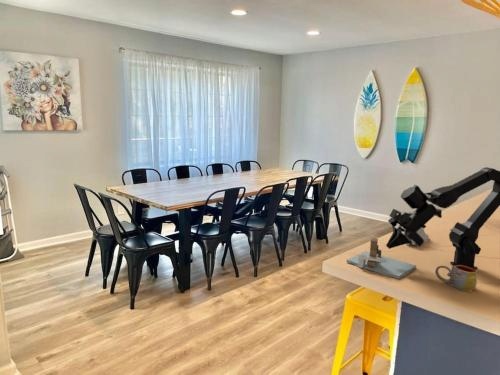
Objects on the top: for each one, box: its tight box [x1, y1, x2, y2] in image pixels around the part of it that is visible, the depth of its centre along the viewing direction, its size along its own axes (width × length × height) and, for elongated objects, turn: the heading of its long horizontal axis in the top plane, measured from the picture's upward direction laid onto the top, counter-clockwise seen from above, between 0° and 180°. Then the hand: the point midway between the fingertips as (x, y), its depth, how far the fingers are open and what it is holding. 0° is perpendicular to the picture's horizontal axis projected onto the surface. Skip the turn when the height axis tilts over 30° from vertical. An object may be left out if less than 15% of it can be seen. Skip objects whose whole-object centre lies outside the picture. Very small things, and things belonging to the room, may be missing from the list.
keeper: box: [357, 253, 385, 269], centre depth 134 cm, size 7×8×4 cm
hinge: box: [405, 228, 430, 249], centre depth 164 cm, size 17×5×10 cm, turn 141°
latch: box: [367, 237, 382, 267], centre depth 138 cm, size 14×4×8 cm, turn 154°
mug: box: [434, 265, 478, 293], centre depth 121 cm, size 12×7×7 cm, turn 49°
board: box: [346, 250, 417, 280], centre depth 137 cm, size 20×14×1 cm
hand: (387, 247), depth 135 cm, fingers closed
